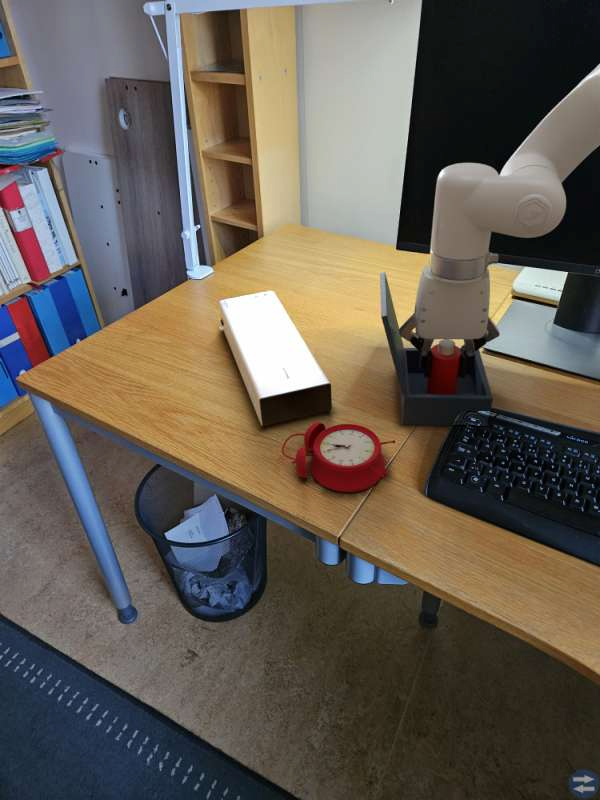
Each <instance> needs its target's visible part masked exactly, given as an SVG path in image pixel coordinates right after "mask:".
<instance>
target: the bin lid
mask: <svg viewBox="0 0 600 800" xmlns="http://www.w3.org/2000/svg"><path fill="white" fill-rule="evenodd" d="M379 278H380V279H379V282H380V310H381V311H380V317H381V320H382V321H381V322H382V325H383V329H384V332H385V336H386V340H387V343H388V348H389V351H390V355H391V359H392V363H393V366H394V371H395V374H396V378H397V381H398V385H399V390H400V389H401V393H402V395H403V394H407V384H406V372H405V360H404V348H405V347H404V342H403V337H401V336H400V334H399V329H400V327H399V321H398V319H397V314H396V309H395V306H394V302H393V298H392V294H391V291H390V290H391V289H390V286H389V282H388V278H387V274H386V272H380V273H379Z"/></svg>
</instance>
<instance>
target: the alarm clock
mask: <svg viewBox="0 0 600 800" xmlns="http://www.w3.org/2000/svg"><path fill="white" fill-rule="evenodd" d="M296 436H297V437H298V436H303V443H304V446H300V447H298V449H297V450H296V453H295V457H293V456H289V455H287V454H286V452H285V450H284V449H285V446H286V444H287V443H288V441H289V440H290V439H292V438H294V437H296ZM395 443H396V440H395V439H392V440H389V441H380V439H379V437H378V435H377V434H376V433H375V432H373V430H371V429H369V428H368V427H365V426H364V425H360V424H356V423H355V424H354V423H340V424H334V425H332V426H329V427H327V428H326V425H325V423H324V422H321V421H316V422H313V423H312V424H310V425H309V427H308V428H307V429H306V430H305V433H294V434H291V435H290V436H288V437H287V438H286V439H285V441H284V442H283V445H282V446H281V453H282V455H283V457H286V458H287V459H290V460H292V461H291V464H295V467H296V471H297V474H298V476H299V478H302V479H307V478H308V469H307V468H308V467H307V457H310V461H309V466H310V472H311V474H312V476H313V478H314V479H315V480H316V482H318V483H319V484H320V485H322V486H323V487H325V488H327V489H330V490H333V491H336V492H341V493H342V492H343V493H354V492H355V493H356V492H360V491H364V490H366V489H369V488H371V487H373V486H374V485H375V484H377V483H378V482H379V481H380V480H381V479H385V478H386V475H387V474H388V473H387V472H388V469H387V468H386V461H385V457H384V455H383V453H382V446H383V445H388V444H395ZM306 451H312V452H313V453H310V454H309V453H308V454H306Z"/></svg>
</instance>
